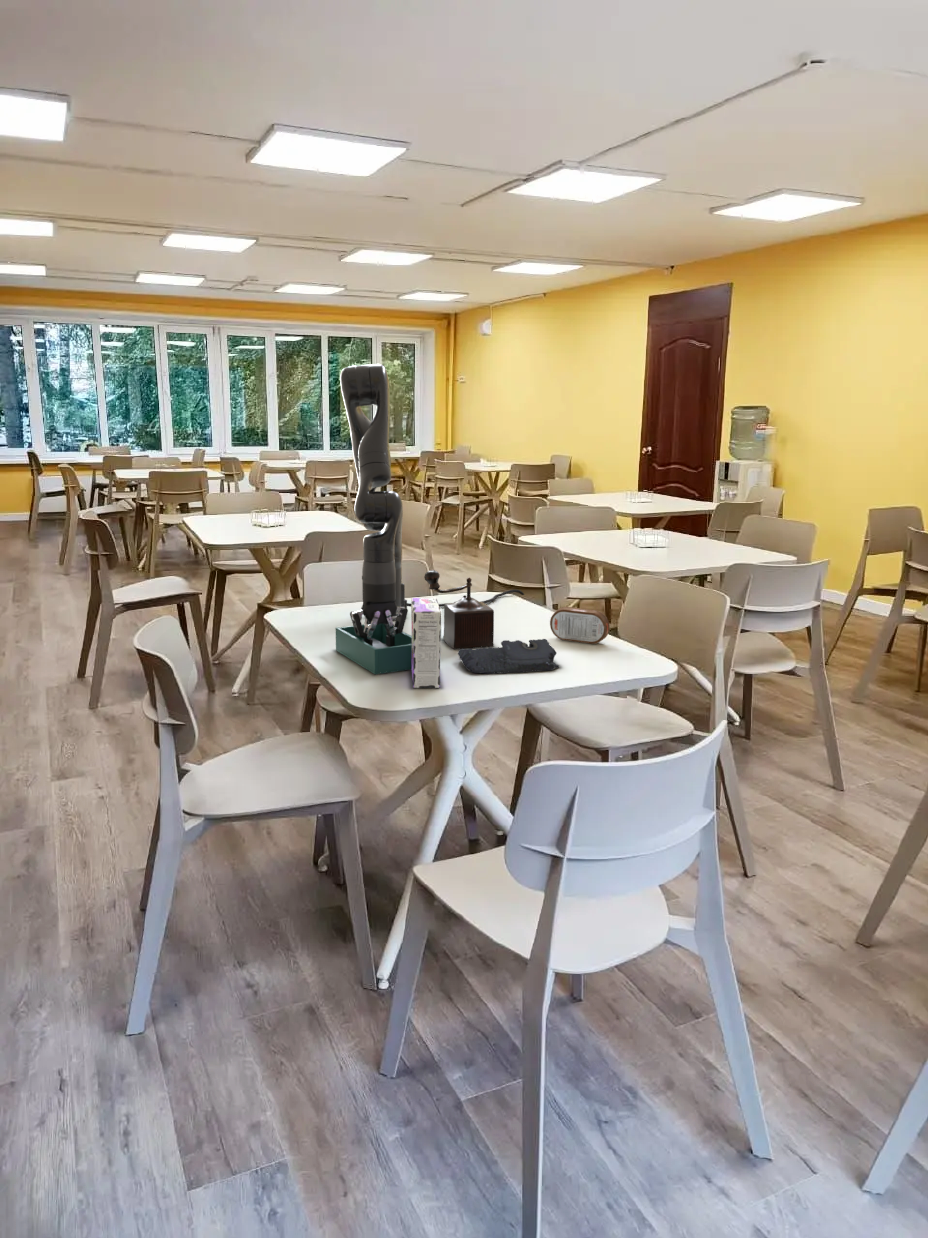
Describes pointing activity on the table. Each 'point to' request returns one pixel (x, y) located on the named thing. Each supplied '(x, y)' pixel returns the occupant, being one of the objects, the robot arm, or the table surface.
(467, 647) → the manual coffee grinder
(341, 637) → the bin
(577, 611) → the tin
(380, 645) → the remote
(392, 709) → the table surface
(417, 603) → the candy box
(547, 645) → the dark slate chunk
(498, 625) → the table surface
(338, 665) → the table surface
